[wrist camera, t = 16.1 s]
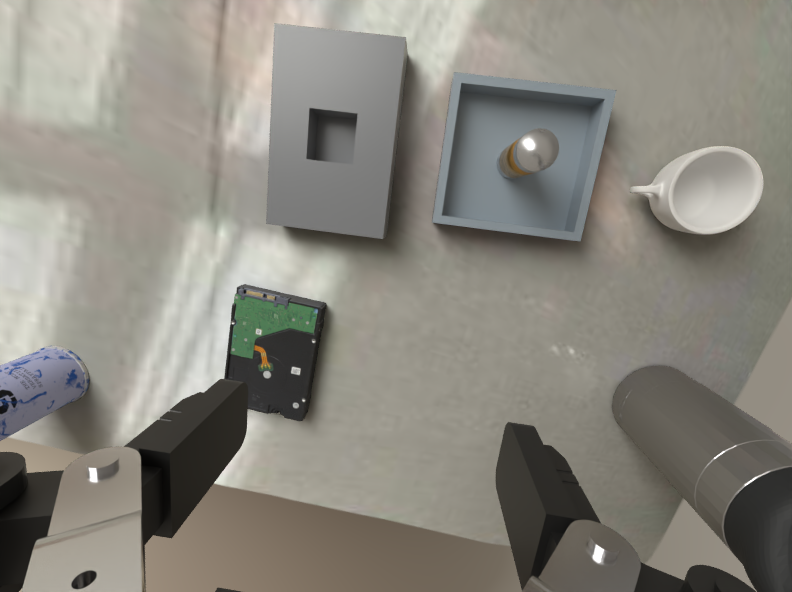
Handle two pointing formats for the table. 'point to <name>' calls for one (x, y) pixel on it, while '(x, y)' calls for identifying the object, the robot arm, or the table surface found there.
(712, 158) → the teacup
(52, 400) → the aerosol can
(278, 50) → the board
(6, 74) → the table surface
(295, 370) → the disk drive
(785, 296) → the table surface
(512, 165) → the fuse
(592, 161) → the parts tray
